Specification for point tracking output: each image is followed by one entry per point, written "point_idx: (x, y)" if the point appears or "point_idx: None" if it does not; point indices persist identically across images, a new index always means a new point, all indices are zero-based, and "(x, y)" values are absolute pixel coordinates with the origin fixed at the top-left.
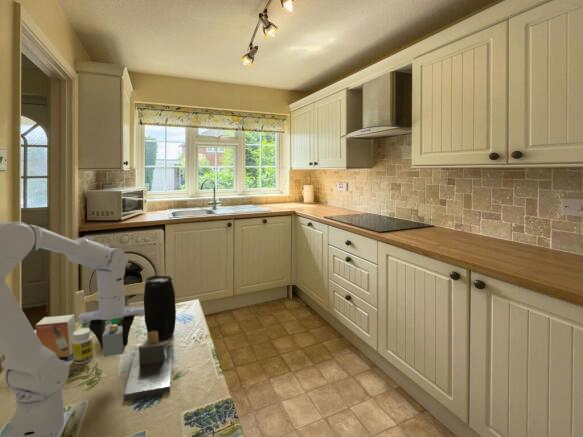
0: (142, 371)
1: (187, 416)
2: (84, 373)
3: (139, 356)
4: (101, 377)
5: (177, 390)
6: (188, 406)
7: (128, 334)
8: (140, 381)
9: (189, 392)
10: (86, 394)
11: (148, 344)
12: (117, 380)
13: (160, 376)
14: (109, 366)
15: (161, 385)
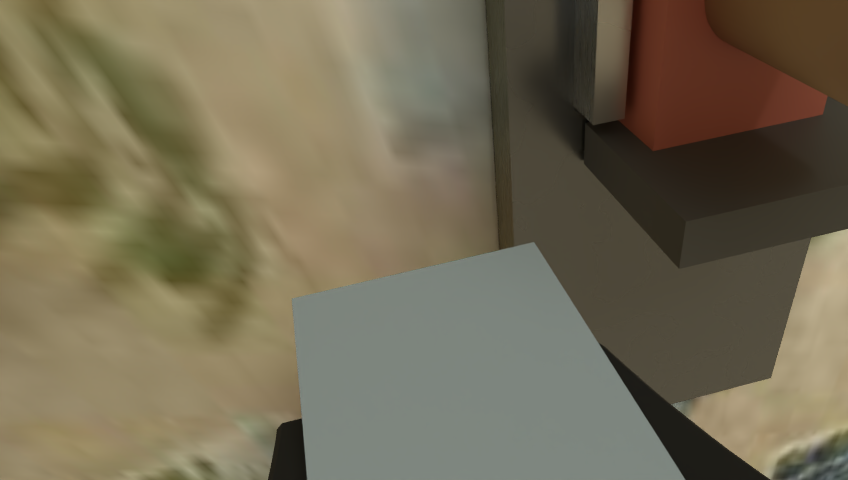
0: (610, 240)
1: (786, 468)
2: (4, 128)
3: (630, 212)
4: (241, 203)
5: (784, 338)
6: (804, 426)
7: (675, 418)
8: (605, 345)
9: (836, 350)
10: (240, 377)
11: (759, 52)
12: (403, 246)
13: (733, 300)
14: (221, 19)
15: (728, 372)
